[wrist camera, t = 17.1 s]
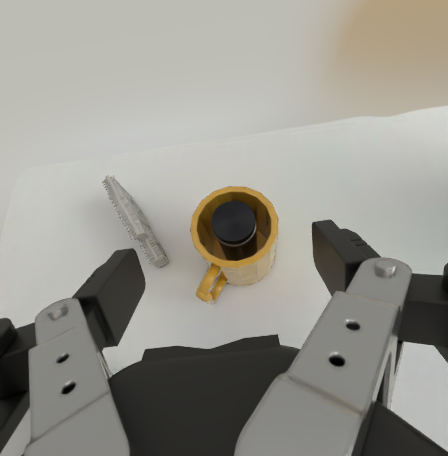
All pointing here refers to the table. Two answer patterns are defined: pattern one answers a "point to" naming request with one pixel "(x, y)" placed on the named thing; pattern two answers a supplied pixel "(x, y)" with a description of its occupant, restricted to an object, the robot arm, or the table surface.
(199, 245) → the mug
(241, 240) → the dark grey cylinder
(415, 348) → the table surface
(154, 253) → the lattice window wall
